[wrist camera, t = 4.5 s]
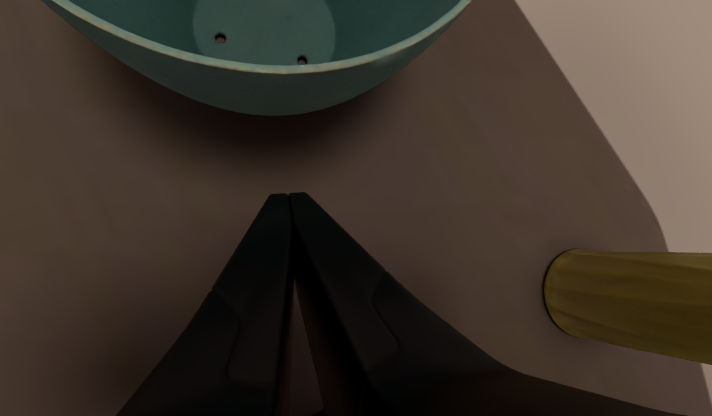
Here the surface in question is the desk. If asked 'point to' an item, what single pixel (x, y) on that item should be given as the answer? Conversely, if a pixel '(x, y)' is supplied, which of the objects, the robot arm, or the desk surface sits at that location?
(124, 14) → the teal bowl
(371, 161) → the desk surface
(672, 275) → the vase
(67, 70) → the desk surface
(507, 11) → the desk surface
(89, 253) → the desk surface
